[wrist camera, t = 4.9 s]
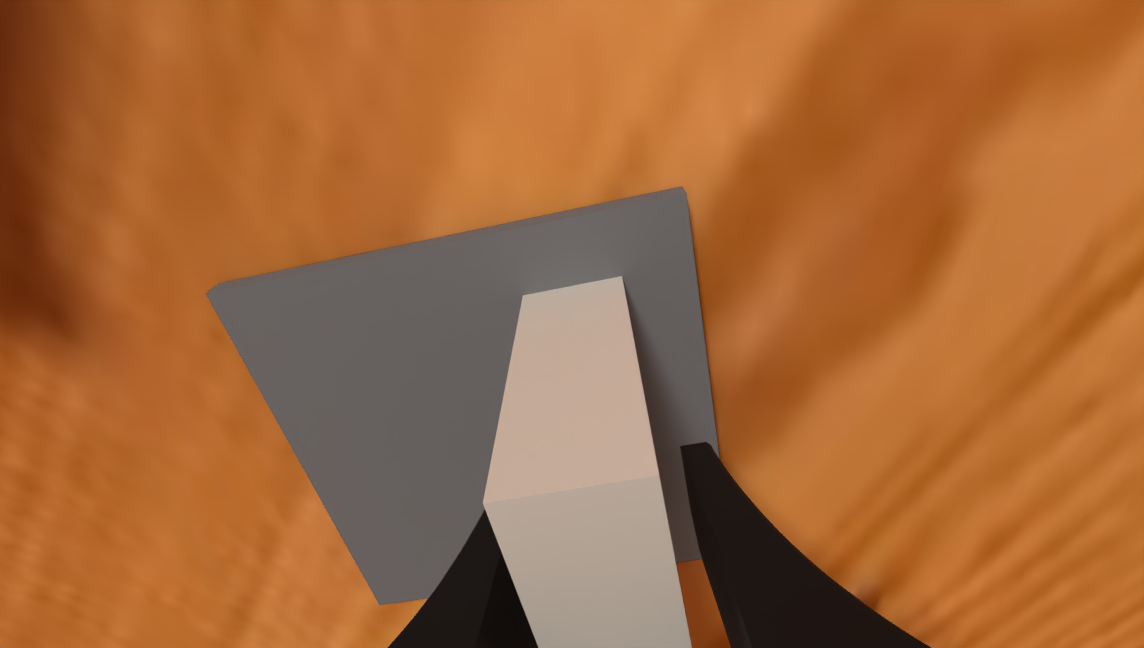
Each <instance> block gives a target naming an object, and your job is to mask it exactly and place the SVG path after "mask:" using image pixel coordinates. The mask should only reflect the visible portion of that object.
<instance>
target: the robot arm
mask: <svg viewBox="0 0 1144 648" xmlns="http://www.w3.org/2000/svg"><path fill="white" fill-rule="evenodd" d="M680 449H681V456H682V462H683V468H684V474H685V480H686V486H687V492H688V498H689V505H690V510H691V515H692V519H693V524H694V528H695V533H696V537H697V542H698V546H699V551H700V554H701V557H702V560H703V563H704V566H705V569H706V572H707V575H708V578H709V581H710V584H711V587H712V590H713V593H714V596H715V599H716V602H717V605H718V608H719V611H720V615H721V618H722V621H723V624H724V627H725V630H726V633H727V636H728V639H729V642H730V645H731V648H931V647H929V646H927V645H926V644H924V643H922V642H921V641H919V640H917V639H916V638H914V637H913V636H911V635H910V634H908V633H906V632H905V631H903V630H902V629H900V628H899V627H897V626H896V625H894V624H893V623H891V622H890V621H888V620H887V619H885V618H884V617H882V616H881V615H879V614H878V613H877V612H875V611H874V610H872V609H871V608H869V607H868V606H867V605H865V604H864V603H863V602H861V601H860V600H859V599H858V598H856V597H855V596H854V595H852V594H851V593H850V592H848V591H847V590H846V589H844V588H843V587H842V586H840V585H839V584H838V583H836V582H835V581H834V580H832V579H831V578H830V577H829V576H828V575H826V574H825V573H824V572H823V571H822V570H820V569H819V568H818V567H817V566H816V565H815V564H813V563H812V562H811V561H810V560H809V559H808V558H807V557H806V556H804V555H803V554H802V553H801V552H800V551H799V550H798V549H797V548H796V547H795V546H794V545H792V544H791V543H790V542H789V541H788V540H787V539H786V538H785V537H784V536H783V535H782V534H781V533H780V532H779V531H778V530H777V529H776V528H775V527H774V526H773V524H772V523H771V522H770V521H769V520H768V519H767V518H766V517H765V516H764V515H763V514H762V513H761V512H760V510H759V509H758V508H757V507H756V506H755V505H754V504H753V502H752V501H751V500H750V499H749V498H748V496H747V495H746V494H745V493H744V492H743V491H742V489H741V488H740V487H739V486H738V484H737V483H736V482H735V480H734V479H733V478H732V476H731V475H730V474H729V472H728V471H727V470H726V468H725V467H724V465H723V464H722V462H721V461H720V459H719V458H718V456H717V455H716V453H715V451H714V450H713V448H712V446H711V445H710V444H709V443H707V442H702V443H696V444H690V445H684V446H680ZM388 648H538V645H537V643H536V640H535V637H534V635H533V632H532V630H531V627H530V624H529V622H528V619H527V617H526V614H525V611H524V609H523V606H522V604H521V601H520V598H519V596H518V593H517V591H516V588H515V586H514V583H513V580H512V578H511V575H510V573H509V570H508V567H507V565H506V562H505V560H504V557H503V554H502V552H501V549H500V547H499V544H498V541H497V539H496V536H495V534H494V531H493V529H492V526H491V523H490V521H489V518H488V516H487V513H486V510H485V509H484V511H483V513H482V515H481V517H480V519H479V520H478V522H477V524H476V526H475V527H474V529H473V531H472V532H471V534H470V536H469V538H468V539H467V541H466V543H465V545H464V546H463V548H462V549H461V551H460V553H459V554H458V556H457V557H456V559H455V560H454V562H453V563H452V565H451V566H450V568H449V570H448V571H447V573H446V574H445V576H444V577H443V579H442V580H441V582H440V583H439V584H438V586H437V587H436V589H435V590H434V592H433V593H432V594H431V596H430V597H429V598H428V600H427V601H426V602H425V604H424V605H423V606H422V607H421V609H420V610H419V611H418V613H417V614H416V615H415V616H414V618H413V619H412V620H411V621H410V622H409V624H408V625H407V626H406V627H405V628H404V630H403V631H402V632H401V633H400V634H399V635H398V637H397V638H396V639H395V640H394V641H393V642H392V643H391V645H390V646H389V647H388Z"/></svg>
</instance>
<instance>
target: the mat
mask: <svg viewBox="0 0 1144 648" xmlns="http://www.w3.org/2000/svg"><path fill="white" fill-rule="evenodd" d="M620 276H622V279H623V284H624V289H625V295H626V300H627V305H628V311H629V316H630V321H631V326H632V332H633V337H634V342H635V348H636V353H637V358H638V363H639V369H640V374H641V379H642V384H643V390H644V395H645V400H646V406H647V411H648V416H649V421H650V427H651V432H652V437H653V443H654V448H655V453H656V458H657V464H658V469H659V474H660V480H661V485H662V490H663V495H664V501H665V506H666V511H667V517H668V522H669V527H670V532H671V538H672V543H673V548H674V554H675V559H676V563H678V562H685V561H692V560H699V559H702V557H701V554H700V551H699V546H698V542H697V537H696V533H695V528H694V524H693V519H692V515H691V510H690V505H689V498H688V492H687V486H686V480H685V474H684V468H683V462H682V456H681V449H680V446H684V445H690V444H696V443H702V442H707V443H709V444H710V445H711V446H712V448H713V450H714V451H715V453H716V455H717V456H718V458H719V451H718V443H717V435H716V427H715V419H714V411H713V403H712V395H711V387H710V379H709V371H708V363H707V355H706V347H705V339H704V330H703V322H702V314H701V306H700V298H699V290H698V282H697V274H696V266H695V258H694V250H693V242H692V234H691V226H690V218H689V210H688V202H687V194H686V192H685V190H684V189H683V187H678V188H673V189H668V190H663V191H658V192H654V193H649V194H644V195H639V196H635V197H630V198H625V199H620V200H615V201H611V202H606V203H601V204H596V205H592V206H587V207H582V208H577V209H573V210H568V211H563V212H558V213H553V214H549V215H544V216H539V217H534V218H530V219H525V220H520V221H515V222H510V223H506V224H501V225H496V226H491V227H487V228H482V229H477V230H472V231H467V232H463V233H458V234H453V235H448V236H444V237H439V238H434V239H429V240H425V241H420V242H415V243H410V244H405V245H401V246H396V247H391V248H386V249H382V250H377V251H372V252H367V253H362V254H358V255H353V256H348V257H343V258H339V259H334V260H329V261H324V262H319V263H315V264H310V265H305V266H300V267H296V268H291V269H286V270H281V271H277V272H272V273H267V274H262V275H257V276H253V277H248V278H243V279H238V280H234V281H229V282H224V283H219V284H218V285H216V286H215V287H213V288H212V289H211V290H209V291H208V292H207V293H206V295H207V297H208V298H209V300H210V302H211V304H212V306H213V307H214V309H215V311H216V313H217V315H218V316H219V318H220V320H221V322H222V324H223V325H224V327H225V329H226V331H227V333H228V334H229V336H230V338H231V340H232V341H233V343H234V345H235V347H236V349H237V350H238V352H239V354H240V356H241V358H242V359H243V361H244V363H245V365H246V367H247V368H248V370H249V372H250V374H251V376H252V377H253V379H254V381H255V383H256V384H257V386H258V388H259V390H260V392H261V393H262V395H263V397H264V399H265V401H266V402H267V404H268V406H269V408H270V410H271V411H272V413H273V415H274V417H275V419H276V420H277V422H278V424H279V426H280V427H281V429H282V431H283V433H284V435H285V436H286V438H287V440H288V442H289V444H290V445H291V447H292V449H293V451H294V453H295V454H296V456H297V458H298V460H299V462H300V463H301V465H302V467H303V469H304V470H305V472H306V474H307V476H308V478H309V479H310V481H311V483H312V485H313V487H314V488H315V490H316V492H317V494H318V496H319V497H320V499H321V501H322V503H323V505H324V506H325V508H326V510H327V512H328V513H329V515H330V517H331V519H332V521H333V522H334V524H335V526H336V528H337V530H338V531H339V533H340V535H341V537H342V539H343V540H344V542H345V544H346V546H347V548H348V549H349V551H350V553H351V555H352V556H353V558H354V560H355V562H356V564H357V565H358V567H359V569H360V571H361V573H362V574H363V576H364V578H365V580H366V582H367V583H368V585H369V587H370V589H371V591H372V592H373V594H374V596H375V598H376V600H377V601H378V603H379V605H384V604H391V603H398V602H405V601H412V600H419V599H426V598H429V597H430V596H431V594H432V593H433V592H434V590H435V589H436V587H437V586H438V584H439V583H440V582H441V580H442V579H443V577H444V576H445V574H446V573H447V571H448V570H449V568H450V566H451V565H452V563H453V562H454V560H455V559H456V557H457V556H458V554H459V553H460V551H461V549H462V548H463V546H464V545H465V543H466V541H467V539H468V538H469V536H470V534H471V532H472V531H473V529H474V527H475V526H476V524H477V522H478V520H479V519H480V517H481V515H482V513H483V511H484V509H485V508H484V505H483V499H484V494H485V489H486V484H487V479H488V473H489V468H490V463H491V458H492V453H493V448H494V442H495V437H496V432H497V427H498V422H499V416H500V411H501V406H502V401H503V396H504V391H505V385H506V380H507V375H508V370H509V365H510V360H511V354H512V349H513V344H514V339H515V334H516V328H517V323H518V318H519V313H520V308H521V303H522V297H523V295H528V294H533V293H538V292H543V291H548V290H554V289H559V288H564V287H569V286H574V285H579V284H584V283H589V282H594V281H600V280H605V279H610V278H615V277H620Z"/></svg>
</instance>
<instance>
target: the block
mask: <svg viewBox="0 0 1144 648" xmlns="http://www.w3.org/2000/svg"><path fill="white" fill-rule="evenodd" d="M483 505H484V508H485V510H486V513H487V516H488V518H489V521H490V523H491V526H492V529H493V531H494V534H495V536H496V539H497V541H498V544H499V547H500V549H501V552H502V554H503V557H504V560H505V562H506V565H507V567H508V570H509V573H510V575H511V578H512V580H513V583H514V586H515V588H516V591H517V593H518V596H519V598H520V601H521V604H522V606H523V609H524V611H525V614H526V617H527V619H528V622H529V624H530V627H531V630H532V632H533V635H534V637H535V640H536V643H537V645H538V648H692V644H691V639H690V634H689V628H688V623H687V618H686V612H685V607H684V602H683V596H682V591H681V586H680V580H679V575H678V570H677V564H676V559H675V554H674V548H673V543H672V538H671V532H670V527H669V522H668V517H667V511H666V506H665V501H664V495H663V490H662V485H661V480H660V474H659V469H658V464H657V458H656V453H655V448H654V443H653V437H652V432H651V427H650V421H649V416H648V411H647V406H646V400H645V395H644V390H643V384H642V379H641V374H640V369H639V363H638V358H637V353H636V348H635V342H634V337H633V332H632V326H631V321H630V316H629V311H628V305H627V300H626V295H625V289H624V284H623V279H622V276H620V277H615V278H610V279H605V280H600V281H594V282H589V283H584V284H579V285H574V286H569V287H564V288H559V289H554V290H548V291H543V292H538V293H533V294H528V295H523V297H522V303H521V308H520V313H519V318H518V323H517V328H516V334H515V339H514V344H513V349H512V354H511V360H510V365H509V370H508V375H507V380H506V385H505V391H504V396H503V401H502V406H501V411H500V416H499V422H498V427H497V432H496V437H495V442H494V448H493V453H492V458H491V463H490V468H489V473H488V479H487V484H486V489H485V494H484V499H483Z"/></svg>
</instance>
